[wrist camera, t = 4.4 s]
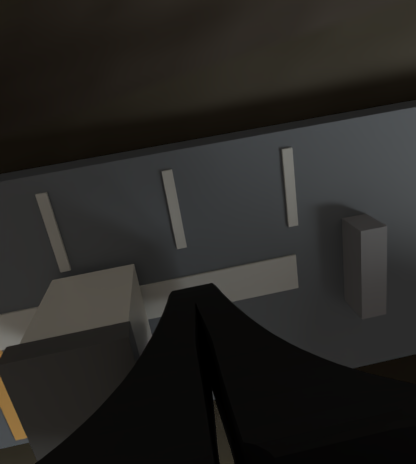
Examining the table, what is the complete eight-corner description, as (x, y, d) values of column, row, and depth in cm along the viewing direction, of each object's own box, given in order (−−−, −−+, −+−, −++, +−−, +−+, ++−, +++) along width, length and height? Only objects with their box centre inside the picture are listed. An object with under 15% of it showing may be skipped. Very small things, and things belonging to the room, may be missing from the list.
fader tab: (159, 351, 13) (162, 458, 9) (78, 368, 13) (48, 486, 9) (135, 256, 12) (129, 337, 8) (46, 274, 11) (-5, 365, 8)
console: (476, 312, 16) (535, 352, 14) (-67, 433, 15) (-111, 503, 12) (501, 84, 13) (584, 83, 11) (-191, 208, 12) (-286, 241, 9)
